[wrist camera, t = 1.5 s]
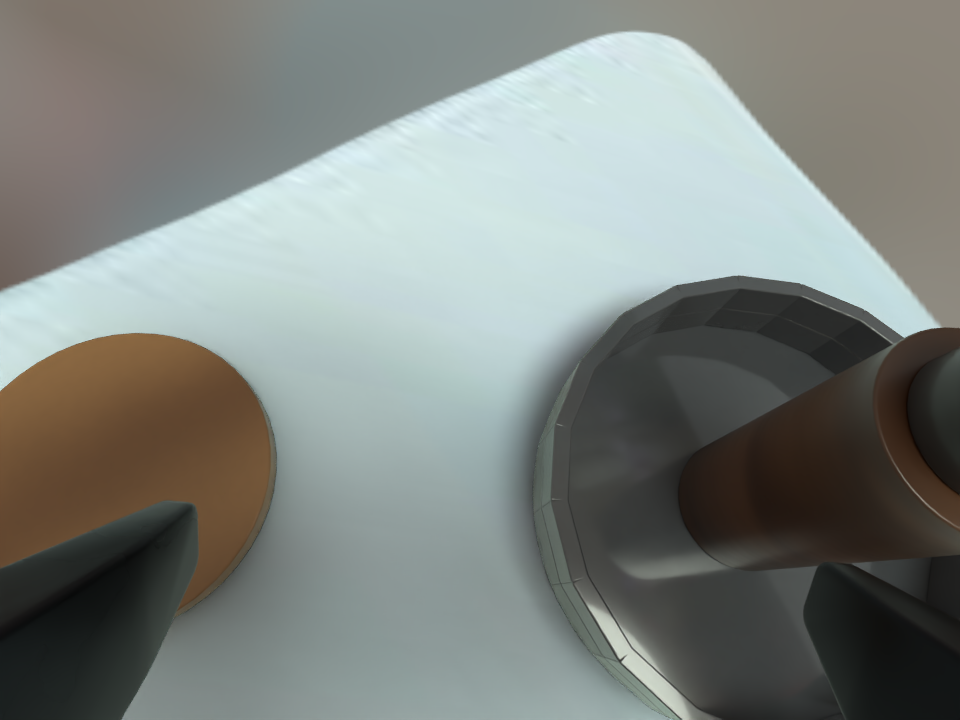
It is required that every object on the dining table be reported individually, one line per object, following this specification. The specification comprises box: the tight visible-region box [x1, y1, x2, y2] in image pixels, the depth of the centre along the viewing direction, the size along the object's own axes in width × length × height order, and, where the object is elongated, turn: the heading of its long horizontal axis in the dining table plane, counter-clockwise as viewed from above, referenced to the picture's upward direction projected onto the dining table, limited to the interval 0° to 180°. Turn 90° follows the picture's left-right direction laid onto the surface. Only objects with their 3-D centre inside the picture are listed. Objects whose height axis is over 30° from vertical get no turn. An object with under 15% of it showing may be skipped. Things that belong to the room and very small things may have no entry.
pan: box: [533, 276, 960, 720], centre depth 22 cm, size 16×16×4 cm
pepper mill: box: [679, 328, 960, 571], centre depth 17 cm, size 5×5×13 cm
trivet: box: [0, 333, 276, 618], centre depth 22 cm, size 11×11×1 cm
